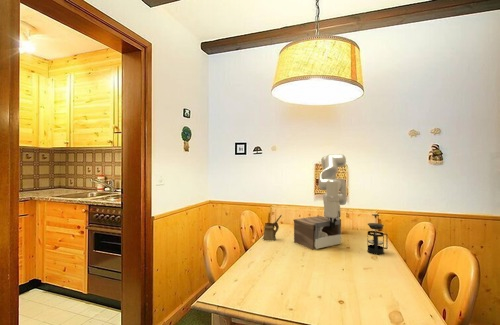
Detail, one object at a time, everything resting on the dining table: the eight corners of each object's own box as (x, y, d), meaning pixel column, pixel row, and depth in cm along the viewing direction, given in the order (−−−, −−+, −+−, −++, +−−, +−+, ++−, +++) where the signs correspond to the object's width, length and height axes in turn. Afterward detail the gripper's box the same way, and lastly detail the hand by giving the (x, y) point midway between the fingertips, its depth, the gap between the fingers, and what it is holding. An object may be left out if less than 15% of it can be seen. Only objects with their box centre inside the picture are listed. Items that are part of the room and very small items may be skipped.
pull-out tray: (321, 237, 192) (321, 214, 192) (341, 243, 176) (341, 219, 176) (297, 241, 180) (297, 218, 180) (316, 248, 165) (316, 223, 165)
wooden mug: (280, 242, 182) (280, 216, 183) (261, 240, 187) (261, 214, 187) (282, 238, 191) (282, 213, 191) (264, 237, 195) (264, 212, 195)
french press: (366, 253, 159) (366, 215, 159) (365, 249, 168) (365, 212, 168) (388, 256, 155) (388, 216, 155) (386, 251, 164) (386, 213, 164)
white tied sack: (327, 244, 176) (330, 229, 182) (325, 239, 171) (328, 223, 177) (310, 241, 182) (313, 226, 188) (307, 237, 177) (310, 221, 183)
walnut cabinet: (319, 237, 195) (319, 215, 195) (339, 243, 179) (339, 220, 179) (293, 242, 182) (293, 219, 182) (312, 249, 166) (312, 224, 167)
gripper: (319, 198, 173) (319, 226, 173) (337, 201, 160) (337, 231, 160) (327, 197, 177) (327, 225, 177) (346, 200, 164) (346, 230, 164)
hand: (332, 228), depth 169 cm, fingers closed
